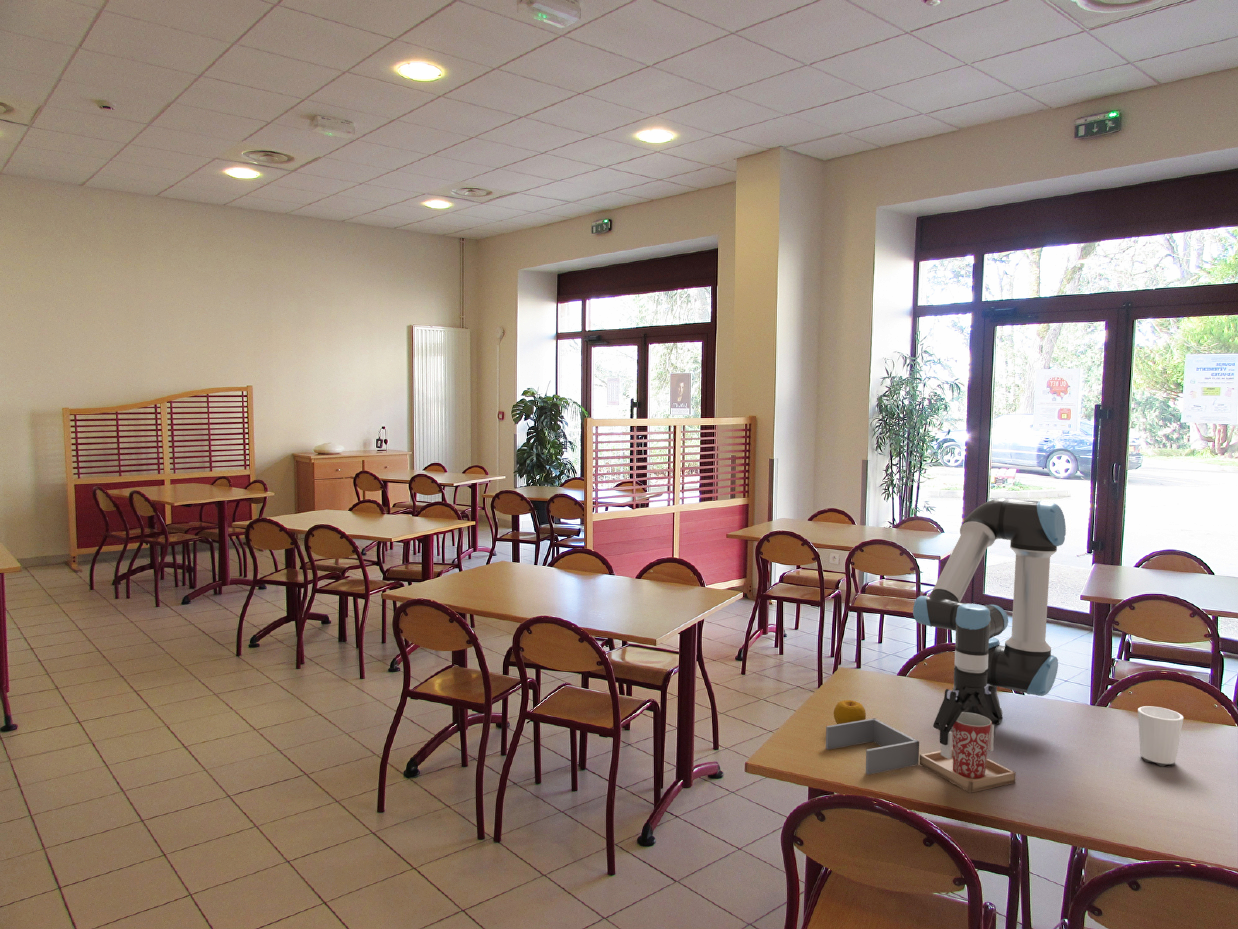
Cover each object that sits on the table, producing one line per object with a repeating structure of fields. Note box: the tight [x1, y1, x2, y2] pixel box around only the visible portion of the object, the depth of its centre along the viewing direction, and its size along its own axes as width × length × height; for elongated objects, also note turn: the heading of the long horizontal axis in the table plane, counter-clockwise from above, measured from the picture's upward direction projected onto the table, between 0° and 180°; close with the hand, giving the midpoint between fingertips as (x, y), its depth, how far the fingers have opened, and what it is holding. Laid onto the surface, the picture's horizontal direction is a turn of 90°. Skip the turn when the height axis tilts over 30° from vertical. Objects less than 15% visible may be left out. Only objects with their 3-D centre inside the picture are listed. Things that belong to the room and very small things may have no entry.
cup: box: [1137, 705, 1184, 767], centre depth 209 cm, size 10×10×13 cm
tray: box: [918, 747, 1017, 794], centre depth 201 cm, size 14×16×2 cm
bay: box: [825, 717, 920, 776], centre depth 210 cm, size 16×17×6 cm
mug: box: [952, 712, 992, 779], centre depth 201 cm, size 13×9×14 cm
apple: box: [833, 699, 867, 725], centre depth 225 cm, size 8×8×9 cm
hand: (967, 752), depth 201 cm, fingers open, 13 cm apart
